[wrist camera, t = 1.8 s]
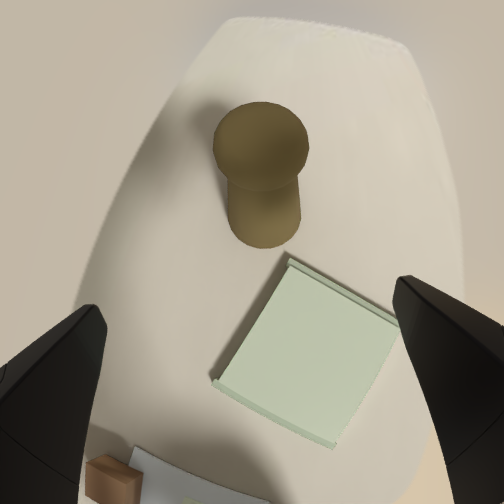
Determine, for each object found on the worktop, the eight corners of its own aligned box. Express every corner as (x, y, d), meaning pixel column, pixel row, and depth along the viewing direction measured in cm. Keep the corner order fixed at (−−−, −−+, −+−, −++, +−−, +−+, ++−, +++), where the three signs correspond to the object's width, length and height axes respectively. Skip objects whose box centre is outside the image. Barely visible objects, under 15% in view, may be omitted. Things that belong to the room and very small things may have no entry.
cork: (216, 200, 25) (183, 111, 14) (278, 171, 25) (281, 75, 15) (248, 262, 23) (229, 196, 12) (314, 228, 23) (344, 145, 13)
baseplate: (401, 324, 21) (406, 323, 20) (330, 446, 18) (333, 451, 17) (289, 260, 23) (290, 256, 22) (212, 383, 20) (210, 385, 19)
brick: (143, 472, 18) (126, 484, 15) (139, 504, 17) (123, 517, 14) (105, 454, 19) (85, 462, 16) (103, 485, 17) (85, 495, 15)
